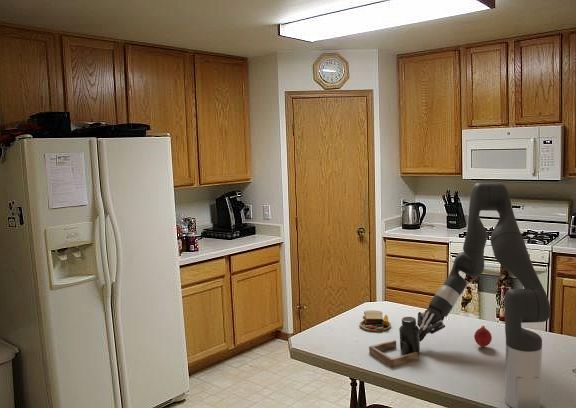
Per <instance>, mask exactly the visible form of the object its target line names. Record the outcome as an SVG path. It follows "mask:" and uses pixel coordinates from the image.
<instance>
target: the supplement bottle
mask: <svg viewBox="0 0 576 408" xmlns="http://www.w3.org/2000/svg"><path fill="white" fill-rule="evenodd" d="M419 329H420V328H419V326H418V325H417V319H416V318H415V317H414V316H404V317H402V319H401V325H400V326H399V330H398V332H399V346H400V347H399V348H400V352H401V353H402V354H403V355H406V354H410V353H413V352H417V353H418V354H419V353H420V352H421V344H420V343H421V342H420V337H419Z"/></svg>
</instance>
